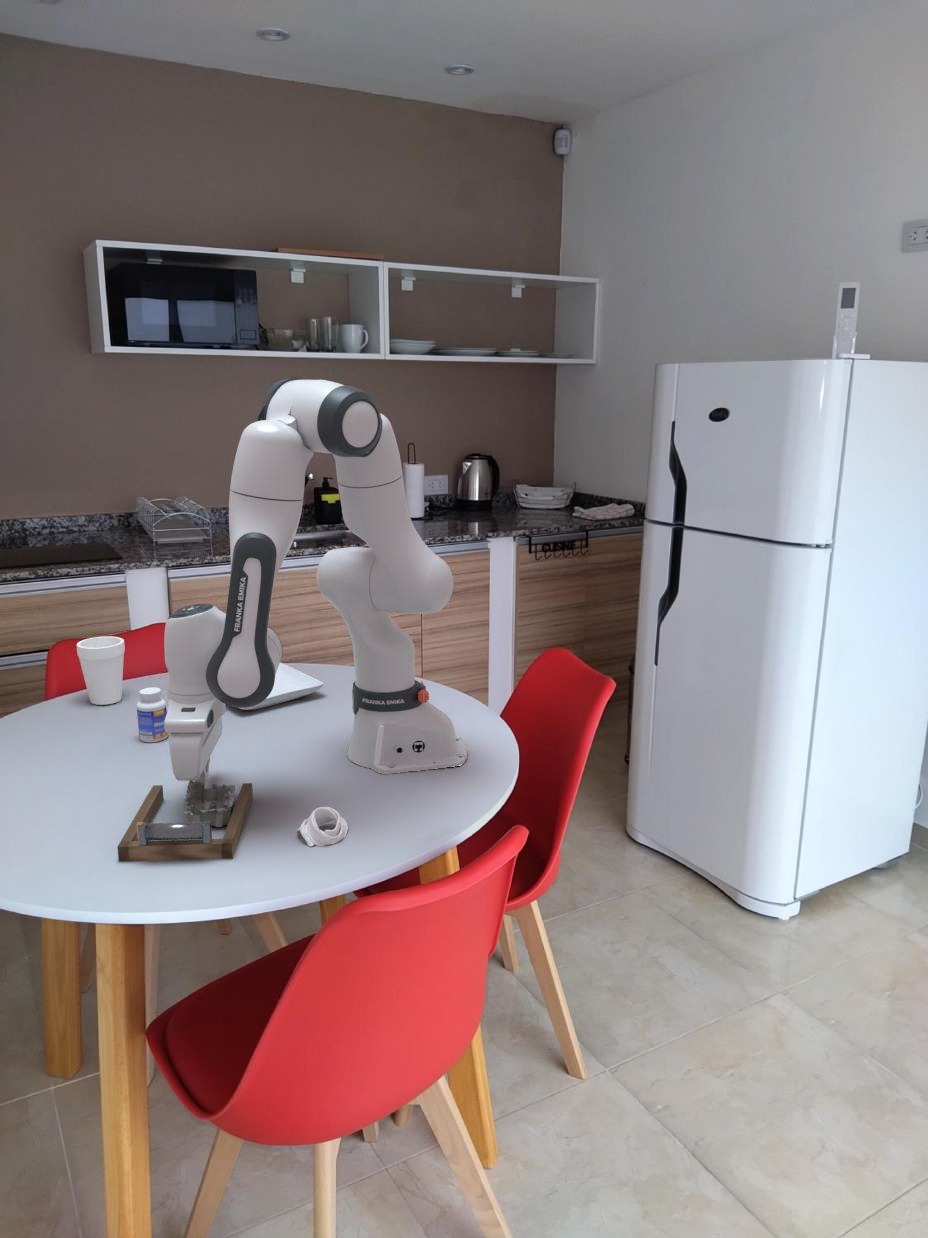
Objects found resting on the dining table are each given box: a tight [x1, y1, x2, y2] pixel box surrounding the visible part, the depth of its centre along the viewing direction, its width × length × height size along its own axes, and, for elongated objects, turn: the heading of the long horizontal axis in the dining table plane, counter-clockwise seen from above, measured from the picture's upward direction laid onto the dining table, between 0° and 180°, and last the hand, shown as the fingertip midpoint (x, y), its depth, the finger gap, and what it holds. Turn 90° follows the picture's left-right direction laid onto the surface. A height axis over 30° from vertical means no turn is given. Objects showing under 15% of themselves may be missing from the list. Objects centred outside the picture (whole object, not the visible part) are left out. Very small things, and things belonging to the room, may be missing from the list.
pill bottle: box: [136, 686, 169, 743], centre depth 171 cm, size 5×5×10 cm
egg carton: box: [183, 780, 236, 828], centre depth 141 cm, size 11×8×4 cm
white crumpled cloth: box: [296, 806, 349, 848], centre depth 135 cm, size 8×7×5 cm
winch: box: [136, 821, 213, 846], centre depth 127 cm, size 10×2×3 cm, turn 95°
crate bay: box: [116, 782, 254, 863], centre depth 137 cm, size 16×20×3 cm
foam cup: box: [76, 635, 126, 706], centre depth 191 cm, size 10×9×13 cm
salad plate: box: [239, 661, 325, 711], centre depth 198 cm, size 21×21×3 cm
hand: (202, 782), depth 147 cm, fingers closed
